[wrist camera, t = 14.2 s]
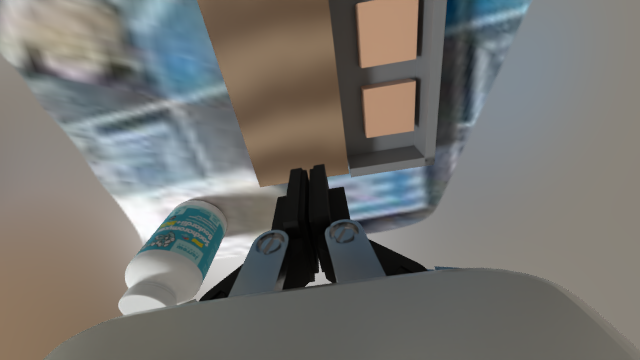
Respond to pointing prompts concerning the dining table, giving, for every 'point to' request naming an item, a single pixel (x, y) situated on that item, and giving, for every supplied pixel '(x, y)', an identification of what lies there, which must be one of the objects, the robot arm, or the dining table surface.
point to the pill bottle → (174, 258)
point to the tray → (424, 70)
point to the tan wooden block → (281, 82)
